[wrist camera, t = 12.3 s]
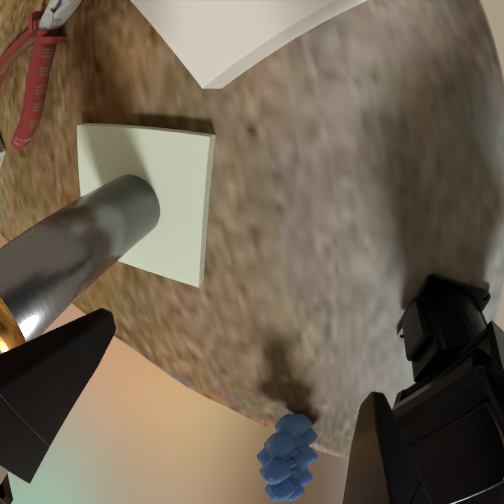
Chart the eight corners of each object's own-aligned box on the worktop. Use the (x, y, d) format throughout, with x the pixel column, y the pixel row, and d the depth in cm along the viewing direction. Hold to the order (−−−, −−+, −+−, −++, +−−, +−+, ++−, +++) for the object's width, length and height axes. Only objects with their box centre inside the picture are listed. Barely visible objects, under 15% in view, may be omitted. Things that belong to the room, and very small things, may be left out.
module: (141, 164, 20) (-42, 276, 7) (170, 224, 22) (23, 373, 9) (100, 188, 22) (-50, 290, 9) (127, 240, 24) (-2, 363, 11)
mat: (215, 134, 19) (209, 137, 18) (203, 280, 25) (198, 287, 24) (85, 123, 20) (77, 125, 20) (94, 245, 27) (88, 250, 26)
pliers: (139, -11, 14) (118, -18, 12) (30, 150, 24) (12, 157, 22) (86, -58, 11) (68, -63, 9) (-2, 87, 21) (-19, 92, 19)
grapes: (251, 389, 31) (216, 482, 21) (309, 387, 29) (285, 492, 19) (282, 435, 36) (261, 510, 26) (330, 434, 33) (315, 515, 23)
